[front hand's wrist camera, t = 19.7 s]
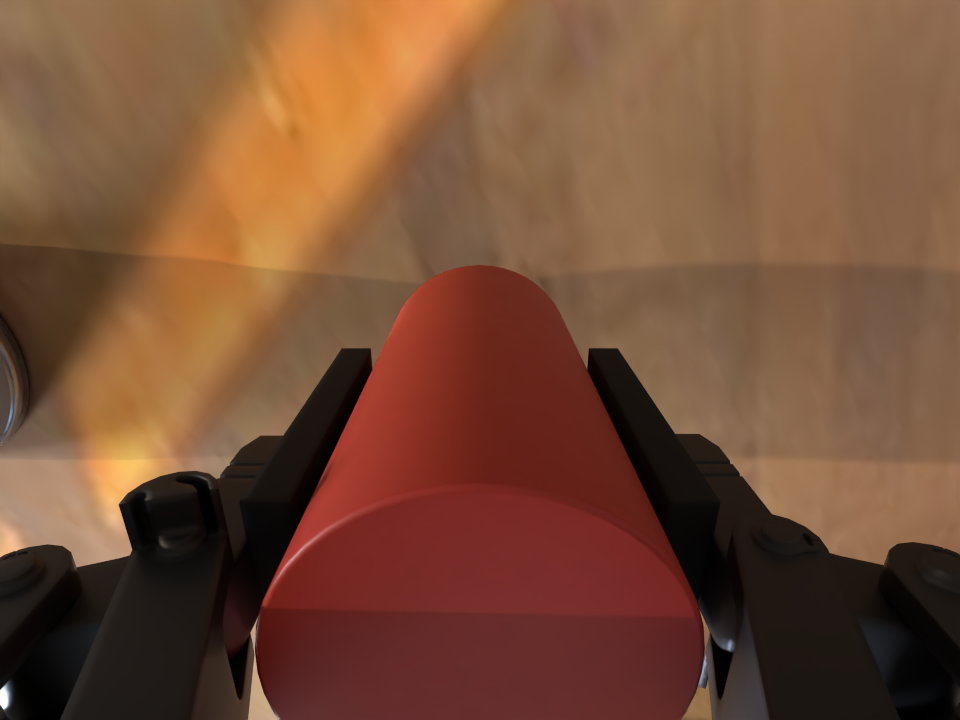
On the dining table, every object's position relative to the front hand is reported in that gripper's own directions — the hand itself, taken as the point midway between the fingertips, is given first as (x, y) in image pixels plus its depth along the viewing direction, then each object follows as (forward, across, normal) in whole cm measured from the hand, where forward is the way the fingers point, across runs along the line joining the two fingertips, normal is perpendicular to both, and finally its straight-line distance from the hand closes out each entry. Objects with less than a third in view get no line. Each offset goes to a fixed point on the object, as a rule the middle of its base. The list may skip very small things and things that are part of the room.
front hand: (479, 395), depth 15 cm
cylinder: (+3, 0, 0) cm, 3 cm away
